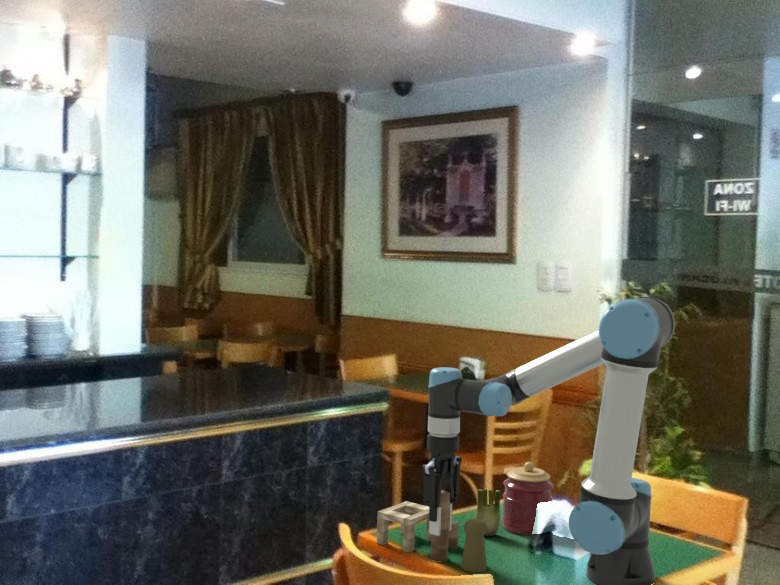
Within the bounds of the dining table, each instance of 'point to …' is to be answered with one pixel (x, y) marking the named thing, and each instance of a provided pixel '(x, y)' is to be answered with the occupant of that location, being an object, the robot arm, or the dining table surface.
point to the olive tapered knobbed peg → (474, 546)
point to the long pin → (442, 531)
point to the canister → (524, 497)
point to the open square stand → (402, 522)
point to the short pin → (453, 536)
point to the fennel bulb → (489, 510)
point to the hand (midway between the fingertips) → (440, 531)
